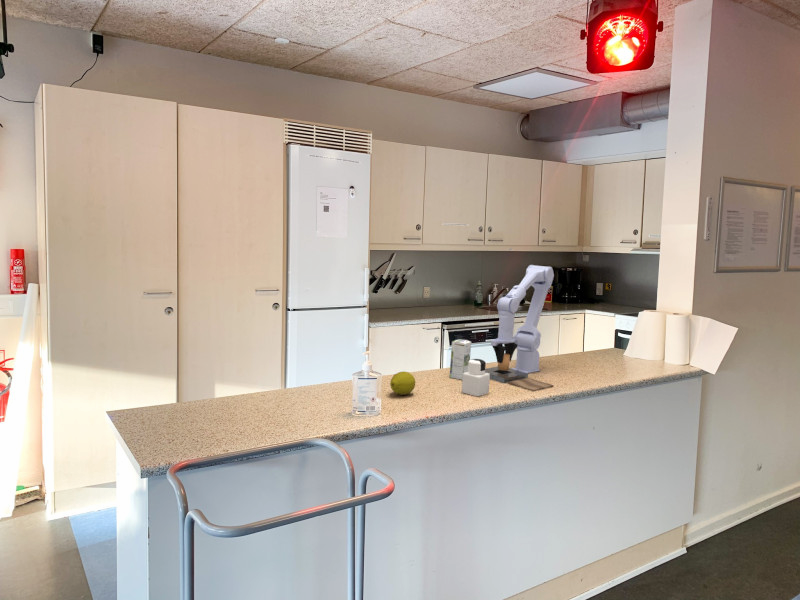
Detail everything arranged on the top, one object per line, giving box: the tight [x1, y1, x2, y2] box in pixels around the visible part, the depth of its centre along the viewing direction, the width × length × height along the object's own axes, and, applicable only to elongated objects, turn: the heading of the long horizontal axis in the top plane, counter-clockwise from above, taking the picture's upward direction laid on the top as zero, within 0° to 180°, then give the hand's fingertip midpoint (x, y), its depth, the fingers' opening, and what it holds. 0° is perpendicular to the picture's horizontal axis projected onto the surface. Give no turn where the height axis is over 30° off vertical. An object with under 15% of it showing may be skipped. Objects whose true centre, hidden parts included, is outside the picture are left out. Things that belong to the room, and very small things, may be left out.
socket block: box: [484, 366, 529, 384], centre depth 240 cm, size 14×14×2 cm
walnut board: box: [507, 377, 555, 392], centre depth 230 cm, size 12×12×1 cm
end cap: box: [497, 352, 511, 371], centre depth 240 cm, size 4×4×6 cm
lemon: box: [389, 371, 416, 396], centre depth 210 cm, size 11×8×8 cm
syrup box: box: [449, 339, 472, 381], centre depth 236 cm, size 6×6×14 cm
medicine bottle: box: [461, 358, 491, 397], centre depth 216 cm, size 7×7×12 cm
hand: (503, 361), depth 240 cm, fingers closed on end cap, 4 cm apart
